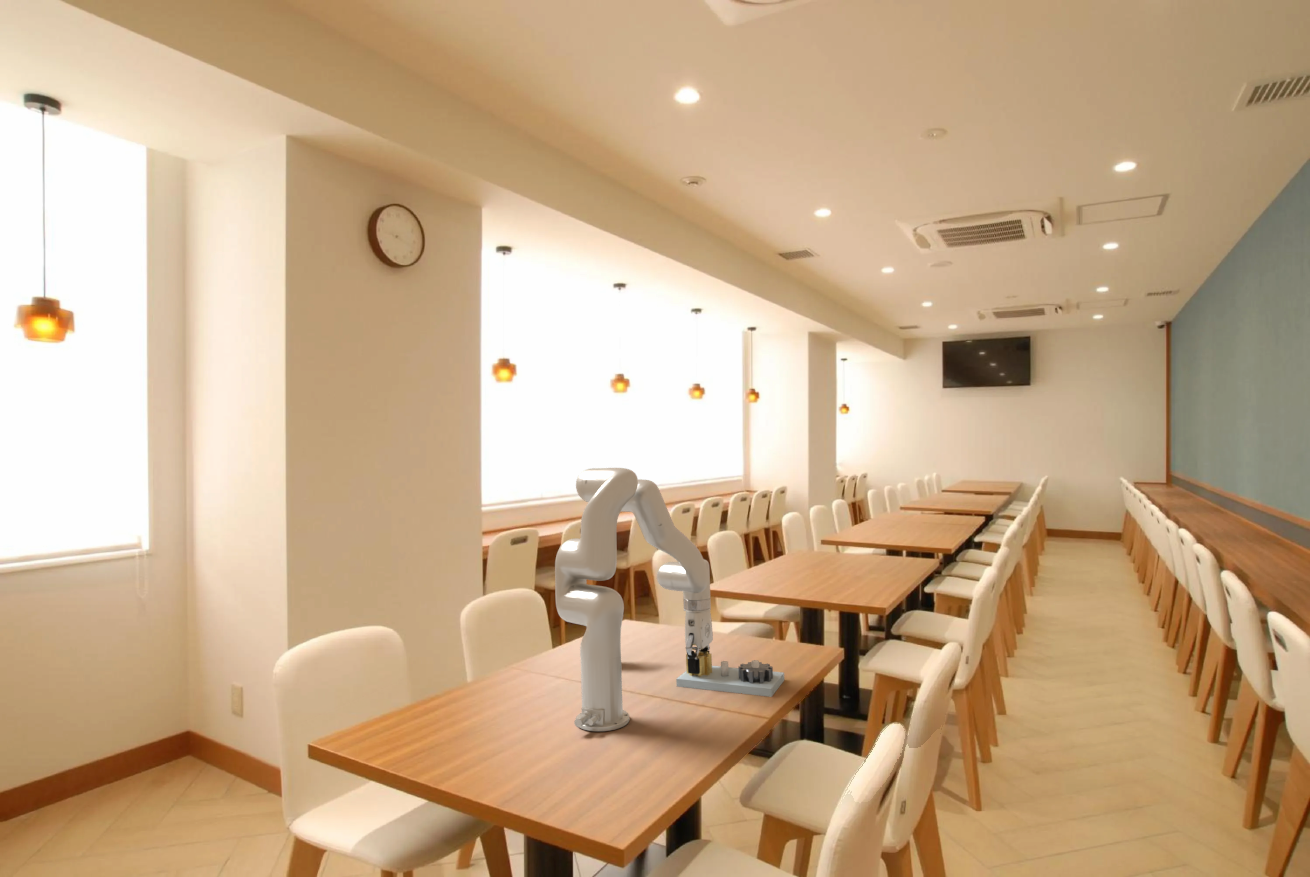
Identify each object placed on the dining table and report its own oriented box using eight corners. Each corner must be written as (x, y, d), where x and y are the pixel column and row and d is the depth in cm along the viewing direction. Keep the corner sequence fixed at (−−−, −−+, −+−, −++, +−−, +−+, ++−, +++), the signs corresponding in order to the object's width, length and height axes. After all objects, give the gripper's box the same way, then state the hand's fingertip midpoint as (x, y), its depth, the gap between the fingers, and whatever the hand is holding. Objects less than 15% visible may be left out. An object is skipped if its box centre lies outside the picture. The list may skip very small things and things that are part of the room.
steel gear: (767, 685, 182) (767, 673, 182) (734, 681, 186) (734, 670, 186) (776, 674, 190) (775, 663, 190) (744, 671, 194) (744, 660, 194)
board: (771, 696, 179) (770, 671, 179) (676, 686, 190) (675, 661, 190) (784, 680, 192) (783, 655, 192) (694, 671, 202) (694, 648, 203)
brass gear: (706, 677, 190) (706, 658, 190) (683, 675, 193) (682, 656, 193) (715, 670, 196) (714, 651, 196) (692, 667, 199) (691, 649, 199)
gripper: (698, 612, 185) (701, 680, 185) (720, 598, 201) (722, 661, 201) (672, 610, 188) (674, 677, 188) (695, 597, 204) (697, 659, 204)
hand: (699, 668), depth 194 cm, fingers open, 7 cm apart
